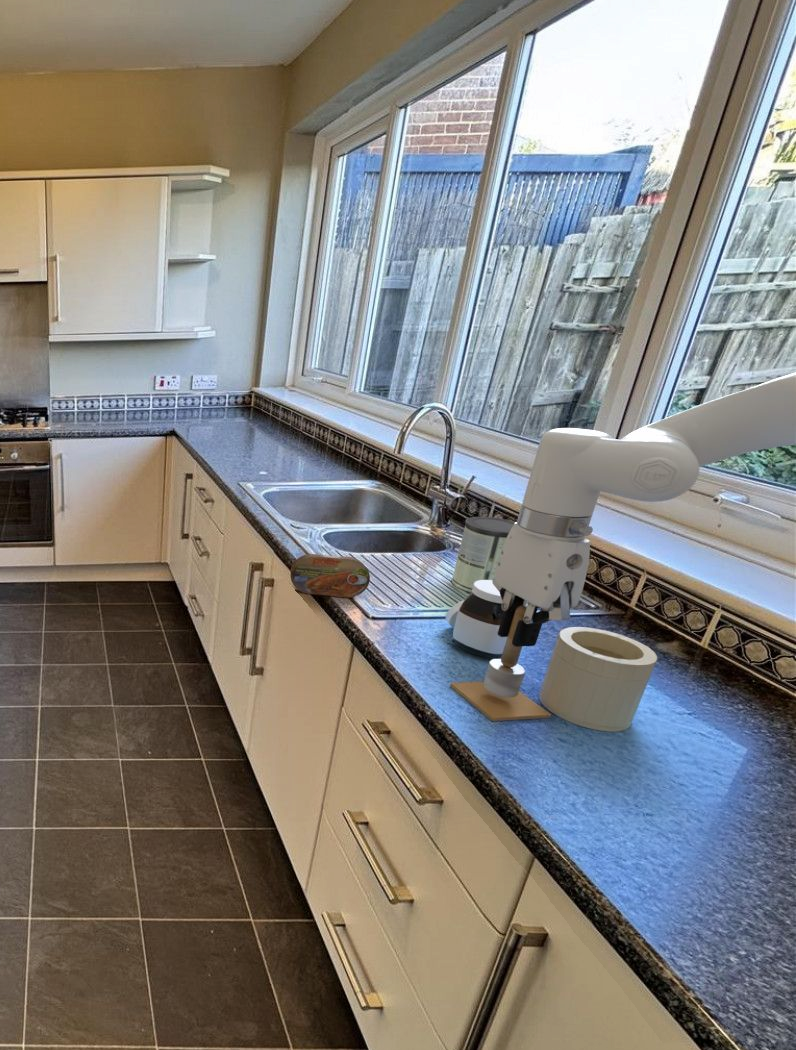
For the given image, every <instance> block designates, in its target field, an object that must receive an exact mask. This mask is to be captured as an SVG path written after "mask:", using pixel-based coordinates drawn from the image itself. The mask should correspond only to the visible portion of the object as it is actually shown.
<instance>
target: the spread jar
mask: <svg viewBox="0 0 796 1050" xmlns="http://www.w3.org/2000/svg"><path fill="white" fill-rule="evenodd" d="M492 581H493V580H479V581H476V582H474V585H473V589H472V593H471V592H470V593H469V594H468V595H467V596H466V598H464V600H461V601H459V602H457V603H455V604H454V605H452V606H451V607H450V608H449V609H448V610H447V612H446V613H445V620H446V622H447V623H448V624H449V626H450V628H452V629H453V630H452V639H453V641H454V642H455V644H456V645H457V646H458V647H460V648H461V649H462V650H464V651H465V652H467V653H470V654H472V655H473V656H478V657H482V658H486V659H501V656H502V653H503V650H504V646H505V643H506V640H507V637H500V636H499V635H498V630H499V627H500V623H501V620H502V617H503V613H504V612H505V611H504V610H503V609H502V607H501V605H502V598H501V595H500V592H499V591H498V590H497V588H496V587H495V586H494V585H493V582H492Z"/></svg>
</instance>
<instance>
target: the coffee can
mask: <svg viewBox="0 0 796 1050" xmlns="http://www.w3.org/2000/svg"><path fill="white" fill-rule="evenodd" d="M515 522H516V521H513V520H509V519H504V518H500V517H491V516H473V517H468V518H466V519H465V521H464V524H465V526H464V530H463V533H462V538H461V541H460V545H459V550H458V554H457V559H456V562H455V568H454V570H453V574H452V577H451V583H452V585H453V586H455V587H456V588H457V589H460V590H462V591H465V592H468V593H470V594H471V593H472V589H473V585H474V582H476V581H479V580H493V579H494V575H495V569H496V565H497V562H498V559H499V556H500V553H501V550H502V548H503V545H504V543H505V540H506V538H507V536H508V534H509V532H510V530H511V528H512V527H513V525H514V523H515Z"/></svg>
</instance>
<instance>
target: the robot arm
mask: <svg viewBox="0 0 796 1050" xmlns="http://www.w3.org/2000/svg"><path fill="white" fill-rule="evenodd" d="M791 446H796V372H793V373H790V374H786V375H783V376H780V377H777V378H774V379H770V380H768V381H765V382H763V383H760V384H758V385H755V386H751V387H749V388H745V389H744V390H740V391H737V392H733V393H731V394H728V395H724V396H722V397H718V398H716V399H713V400H710V401H706V402H704V403H701V404H699V405H698V404H697V405H695V406H693V407H691V408H688V409H686V410H683V411H681V412H677V413H675V414H673V415H670V416H668V417H665V418H663V419H660V420H657V421H655V422H652V423H650V424H647V425H645V426H642V427H640V428H638V429H635V430H633V431H632V432H630V433H628V434H626V435H624V436H623V437H622V438H620V439H616V438H614V437H613V436H612V435H611V434H608V433H606V432H603V431H600V430H593V429H588V428H587V429H586V428H578V427H576V428H575V427H574V428H573V427H561V428H560V427H559V428H553V429H550V430H548V431H546V432H544V434H543V435H542V437H541V438H540V441H539V444H538V448H537V450H536V454H535V456H534V461H533V465H532V467H531V471H530V475H529V478H528V482H527V485H526V489H525V492H524V496H523V498H522V503H521V507H520V510H519V513H518V517H517V520H516V521H514V522H515V523H514V525H513V527H512V528H511V530H510V532H509V534H508V536H507V538H506V540H505V543H504V545H503V548H502V550H501V553H500V556H499V559H498V562H497V565H496V569H495V575H494V579H493V581H492V582H493V585H494V586H495V587H496V588H497V590H498V591H499V592H500V595H501V598H502V605H501V607H502V609H503V610H504V611H505V612H504V613H503V617H502V620H501V623H500V627H499V630H498V635H499V636H500V637H508V633H509V630H510V627H511V623H512V620H513V617H514V613H515V610H516V609H517V608H518V607H519V606H527V608H526V611H525V614H524V618H523V620H521V621H519V622H518V624H517V627H516V630H515V634H514V637H513V640H512V644H513V645H514V646H516V647H522V648H523V647H534V646H536V644H537V641H538V638H539V636H540V633H541V629H542V626H543V624H547V623H549V622H550V621H555V622H556V621H557V622H559V621H561V622H563V621H569V620H570V619H571V609H572V608H573V609H574V608H576V607H577V606H578V604H579V602H580V600H581V597H582V593H583V590H584V586H585V582H586V577H587V574H588V568H589V564H590V562H589V561H590V553H591V541H590V539H587V538H586V537H588V536H590V535H592V533H593V531H594V529H593V527H592V526H590V524H591V521H592V518H593V516H594V515H593V514H594V511H595V509H596V506H597V502H598V499H599V496H600V493H605V494H610V495H614V496H617V497H621V498H625V499H629V500H634V501H639V502H647V503H656V502H665V501H669V500H672V499H676V498H678V497H680V496H682V495H684V494H685V493H687V492H688V491H689V490H691V488H693V486H694V485H695V484H696V482H697V480H698V478H699V476H700V468H702V467H705V466H708V465H711V464H714V463H717V462H720V461H721V462H722V461H723V460H727V459H731V458H733V457H737V456H740V455H744V454H749V453H753V452H757V451H762V450H767V449H771V448H772V449H773V448H779V447H791ZM538 609H540V610H539V611H538Z"/></svg>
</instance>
